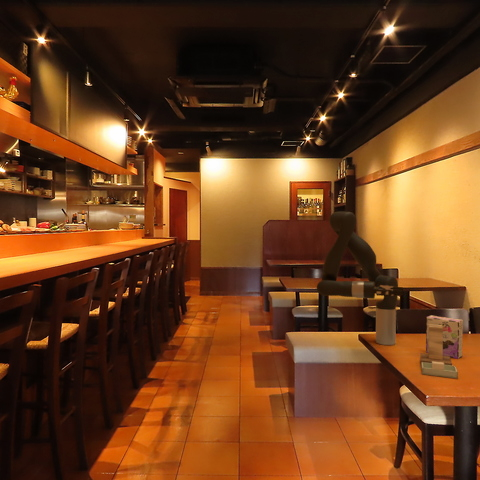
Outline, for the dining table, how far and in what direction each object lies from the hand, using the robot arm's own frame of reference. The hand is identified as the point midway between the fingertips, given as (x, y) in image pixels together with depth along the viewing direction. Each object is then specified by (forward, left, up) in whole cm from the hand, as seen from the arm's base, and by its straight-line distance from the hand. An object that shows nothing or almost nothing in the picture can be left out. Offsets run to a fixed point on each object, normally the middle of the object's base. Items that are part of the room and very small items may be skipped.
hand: (403, 291), depth 169 cm
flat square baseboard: (+2, +13, -30) cm, 32 cm away
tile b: (+12, +13, -27) cm, 32 cm away
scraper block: (0, +13, -27) cm, 29 cm away
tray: (+11, +13, -30) cm, 34 cm away
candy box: (-17, +17, -30) cm, 38 cm away
